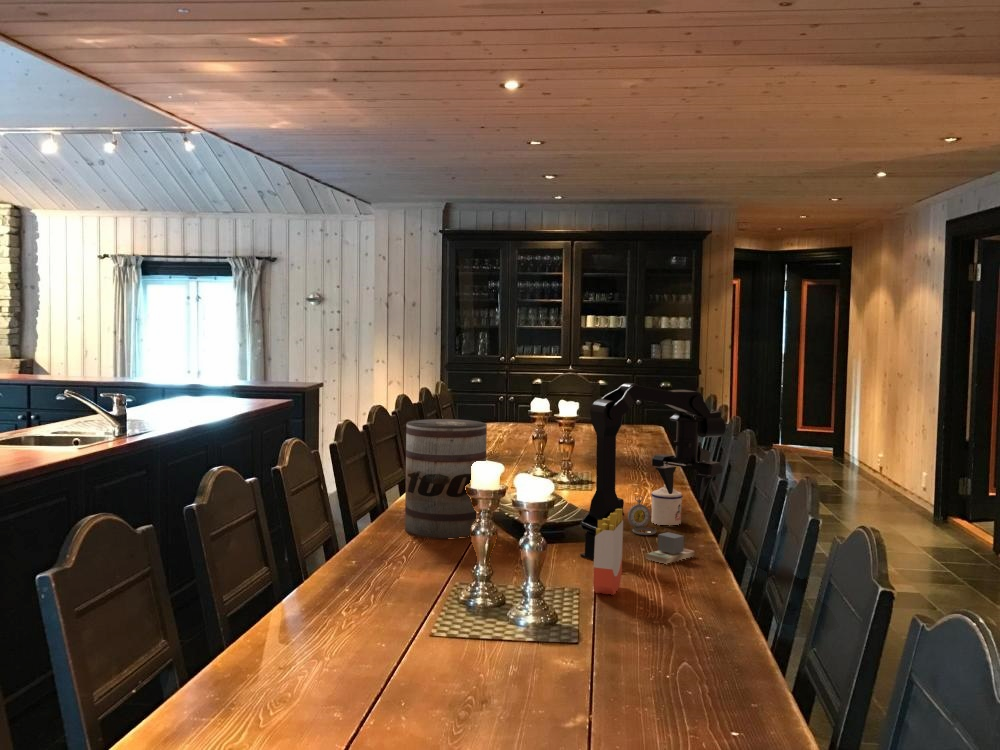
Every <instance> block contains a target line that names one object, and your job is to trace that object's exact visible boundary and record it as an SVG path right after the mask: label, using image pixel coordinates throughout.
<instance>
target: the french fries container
mask: <svg viewBox="0 0 1000 750" xmlns="http://www.w3.org/2000/svg"><path fill="white" fill-rule="evenodd" d="M622 511H623V512H624V508H623V509H615V512H613V513H610V516H608V518H603V519H602V520H598V528H597V529H596V536H595V549H594V560H593V577H592V578H593V579H592V581H593V583H592V586H593V590H594V592H595V594H600V593H602V594H601V595H608V594H611V596H615V595H616V593H617V592H618V590H619V589H618V588H620V585H621V579H622V572H623V571H622V569H623V541H624V540H623V537H624V536H623V535H624V520H623V515H622ZM616 591H617V592H616ZM614 594H615V595H614Z"/></svg>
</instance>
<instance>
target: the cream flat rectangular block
mask: <svg viewBox="0 0 1000 750" xmlns="http://www.w3.org/2000/svg"><path fill="white" fill-rule="evenodd" d="M693 556H694V557H695V550H693V549H689V548H685V547H684V550H683V552H680V553H676V554H671V553H667V552H663V551H660V550H654V551H651V552H648V553H645V560H646V559H648V560H647V561H649V560H652V561H651V562H653V561H655V562H654V563H656V562H659V563H658V564H660V563H664V564H666V565H668V564H667V563H670V562H674V563H676V562H675V561H677V562H680V561H679V560H681V561H683V560H682V559H685V560H687V559H686V558H689V559H691V558H690V557H692V558H694V557H693ZM664 564H663V565H664ZM670 564H671V563H670Z"/></svg>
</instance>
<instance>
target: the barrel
mask: <svg viewBox="0 0 1000 750" xmlns="http://www.w3.org/2000/svg"><path fill="white" fill-rule="evenodd" d="M487 430H488V425H487V423H486V422H484V421H483V422H482V421H477V420H470V419H454V418H449V419H448V418H436V419H435V418H431V419H416V420H409V421H407V422H406V433H405V434H406V436H405V439H406V440H405V441H406V442H405V444H406V445H405V446H406V447H405V448H406V449H405V502H404V506H405V508H404V509H405V511H404V513H405V514H404V522H405V523H404V531H405V532H406V533H407V534H408V533H409V534H408V535H410V534H411V535H410V536H413V535H414V537H417V536H419V537H418V538H421V537H424V538H423V539H428V538H430V539H429V540H449V539H448V538H459V537H468V536H469V537H470V528H471V525H472V523H473V522H474V521H475V519H476V511H475V510H474V508H473V506H472V502H471V499H470V497H469V496H468V495H467V493H466V490H465V486H466V485H467V484H469V483H470V480H471V466H472V464H473V463H474V462H476V461H486V462H487V443H488V442H487V441H488V438H487V437H488V436H487V435H488V433H487V432H488V431H487ZM470 538H471V537H470Z"/></svg>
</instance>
